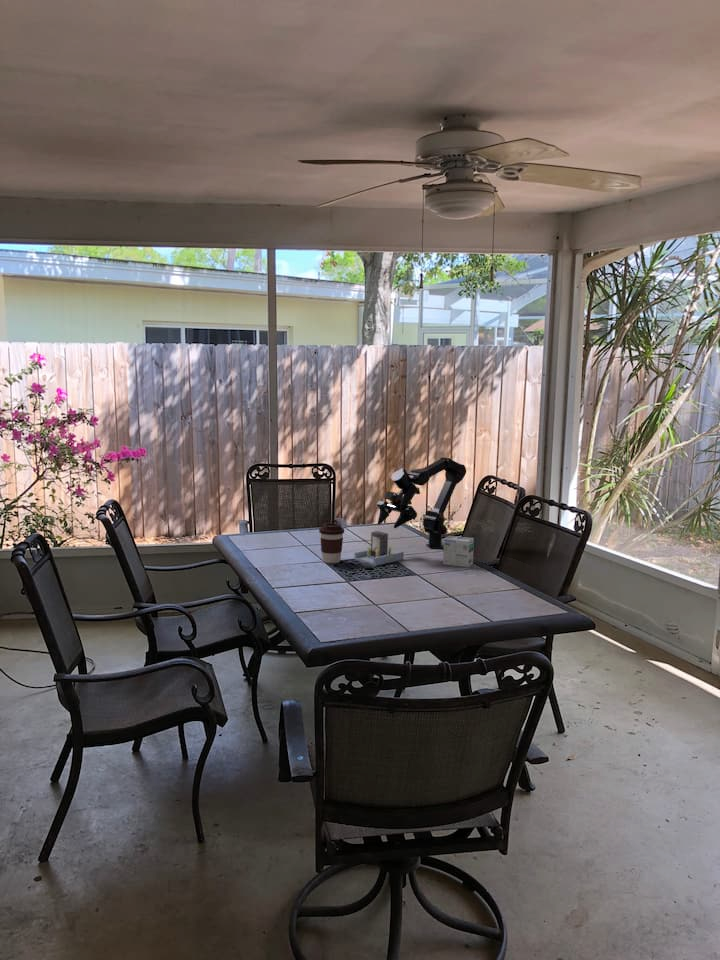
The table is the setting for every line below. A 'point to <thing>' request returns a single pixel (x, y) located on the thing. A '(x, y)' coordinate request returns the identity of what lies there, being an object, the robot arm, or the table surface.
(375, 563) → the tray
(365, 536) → the table surface
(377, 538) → the block
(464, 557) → the light bulb box
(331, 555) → the coffee cup
